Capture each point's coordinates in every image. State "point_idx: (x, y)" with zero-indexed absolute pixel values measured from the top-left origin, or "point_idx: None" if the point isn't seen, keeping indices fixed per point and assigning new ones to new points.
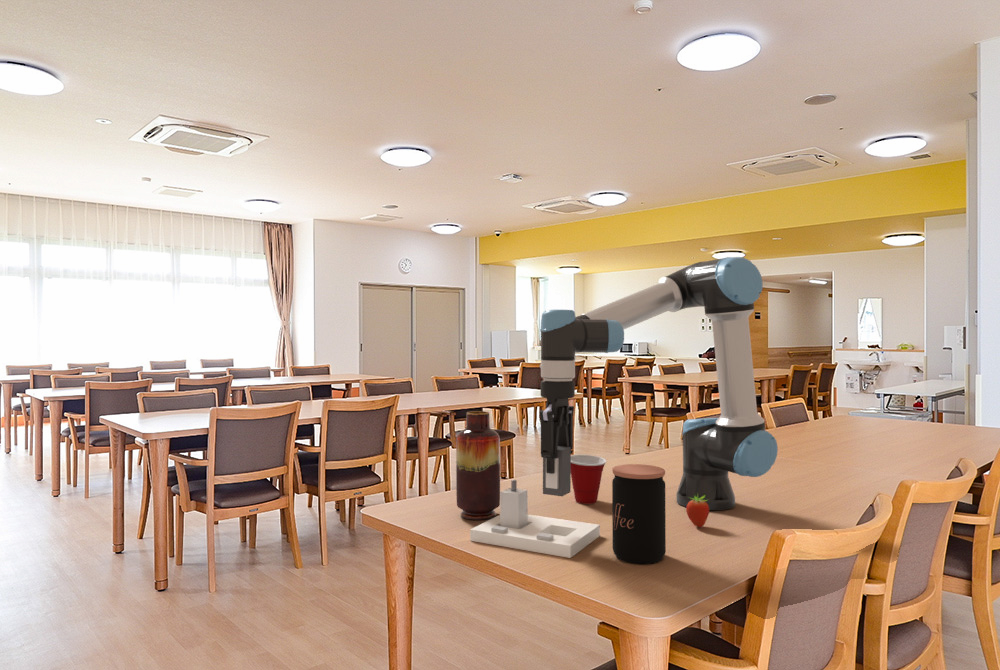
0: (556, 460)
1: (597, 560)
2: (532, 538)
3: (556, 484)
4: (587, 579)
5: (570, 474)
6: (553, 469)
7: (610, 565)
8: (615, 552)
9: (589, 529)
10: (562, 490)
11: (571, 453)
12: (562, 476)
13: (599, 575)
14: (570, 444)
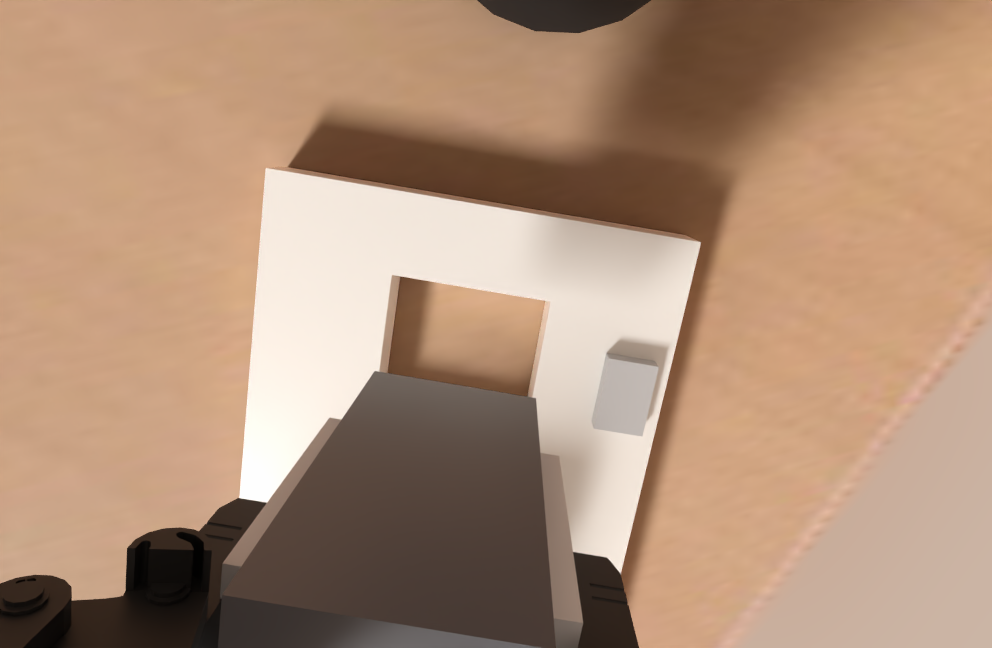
0: (580, 616)
1: (682, 99)
2: (633, 450)
3: (560, 477)
4: (956, 91)
5: (341, 424)
6: (591, 577)
7: (739, 19)
8: (647, 2)
9: (380, 206)
10: (530, 413)
11: (194, 534)
12: (533, 464)
13: (893, 46)
14: (32, 640)
